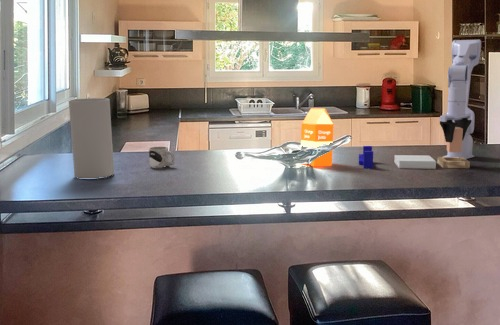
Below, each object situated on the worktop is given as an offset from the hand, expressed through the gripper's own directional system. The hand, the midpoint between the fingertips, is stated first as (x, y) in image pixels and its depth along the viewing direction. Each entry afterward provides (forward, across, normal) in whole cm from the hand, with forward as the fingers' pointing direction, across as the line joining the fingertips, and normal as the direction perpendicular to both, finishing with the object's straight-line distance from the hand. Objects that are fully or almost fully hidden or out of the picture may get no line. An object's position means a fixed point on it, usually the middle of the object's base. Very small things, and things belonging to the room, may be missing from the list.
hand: (454, 141), depth 184 cm
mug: (+9, +81, -60) cm, 101 cm away
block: (+3, 0, 0) cm, 3 cm away
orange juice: (+9, +36, -30) cm, 48 cm away
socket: (+8, 0, 0) cm, 9 cm away
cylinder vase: (+9, +106, -59) cm, 122 cm away
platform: (+8, +10, -8) cm, 16 cm away
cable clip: (+9, +23, -19) cm, 31 cm away
